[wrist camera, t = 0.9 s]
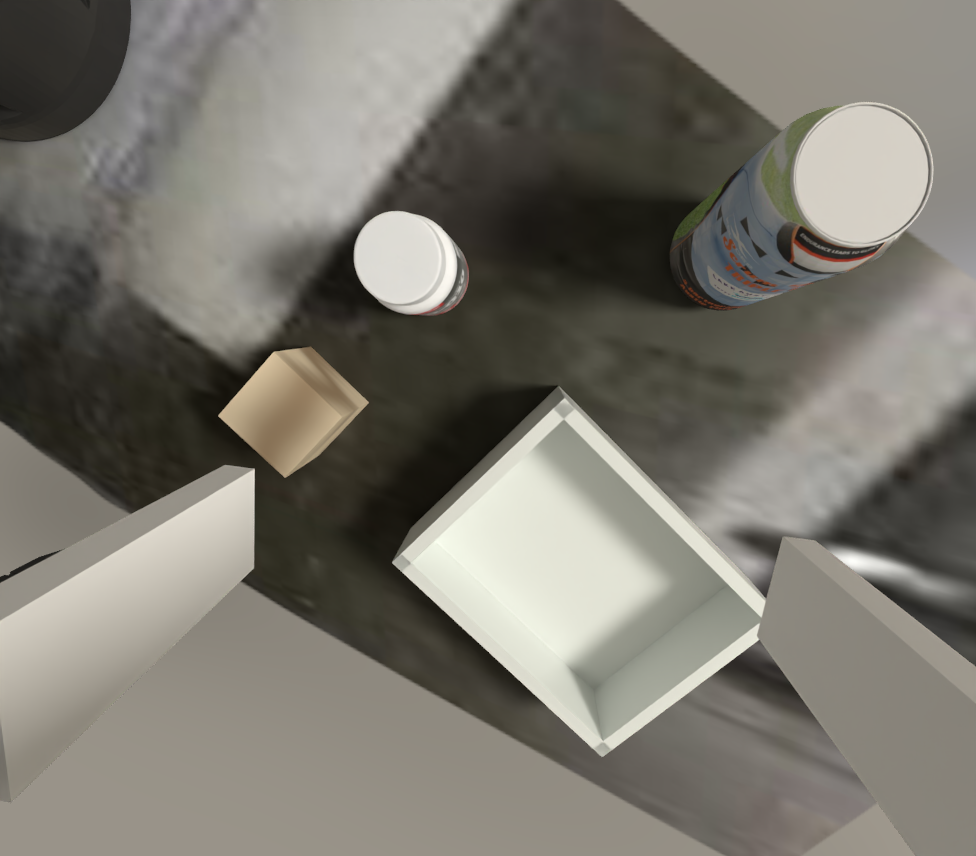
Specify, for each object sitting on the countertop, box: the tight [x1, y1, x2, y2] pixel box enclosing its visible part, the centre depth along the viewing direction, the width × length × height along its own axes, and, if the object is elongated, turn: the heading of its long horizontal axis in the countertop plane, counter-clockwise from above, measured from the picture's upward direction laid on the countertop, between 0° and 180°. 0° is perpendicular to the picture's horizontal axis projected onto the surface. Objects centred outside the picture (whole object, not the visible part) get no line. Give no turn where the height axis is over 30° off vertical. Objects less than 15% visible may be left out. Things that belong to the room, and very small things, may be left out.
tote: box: [392, 386, 766, 757], centre depth 32 cm, size 18×14×5 cm
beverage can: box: [670, 102, 933, 310], centre depth 24 cm, size 6×7×12 cm
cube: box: [218, 347, 369, 478], centre depth 31 cm, size 5×5×5 cm
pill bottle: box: [354, 211, 469, 316], centre depth 27 cm, size 5×5×8 cm
